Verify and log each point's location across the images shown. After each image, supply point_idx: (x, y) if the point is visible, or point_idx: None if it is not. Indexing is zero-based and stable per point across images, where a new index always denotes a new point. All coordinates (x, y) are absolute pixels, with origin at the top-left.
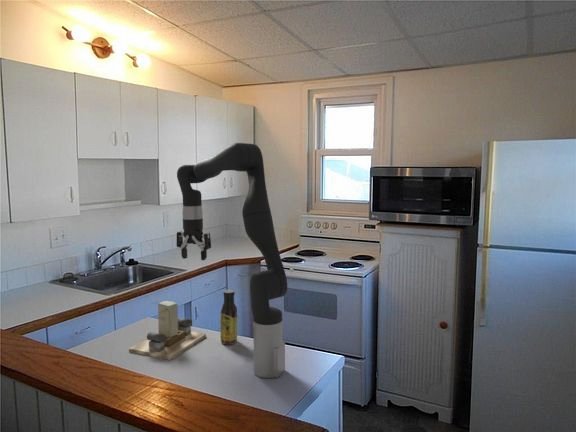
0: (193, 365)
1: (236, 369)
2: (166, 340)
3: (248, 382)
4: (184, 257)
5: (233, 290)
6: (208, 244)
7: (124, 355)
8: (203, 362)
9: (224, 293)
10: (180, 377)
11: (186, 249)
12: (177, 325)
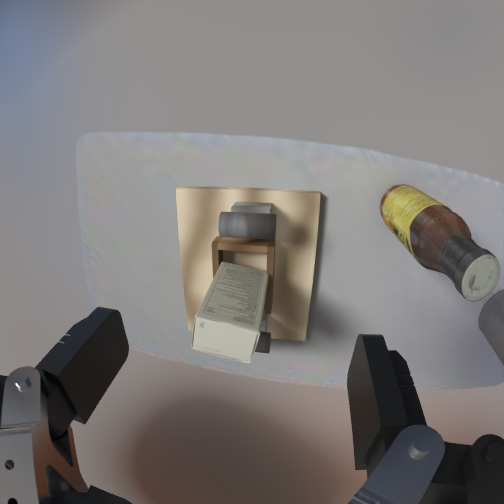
0: None
1: (450, 325)
2: (263, 313)
3: (471, 351)
4: (122, 353)
5: (496, 260)
6: (481, 500)
7: None
8: (381, 324)
9: (464, 297)
10: None
11: (67, 377)
12: (266, 288)
